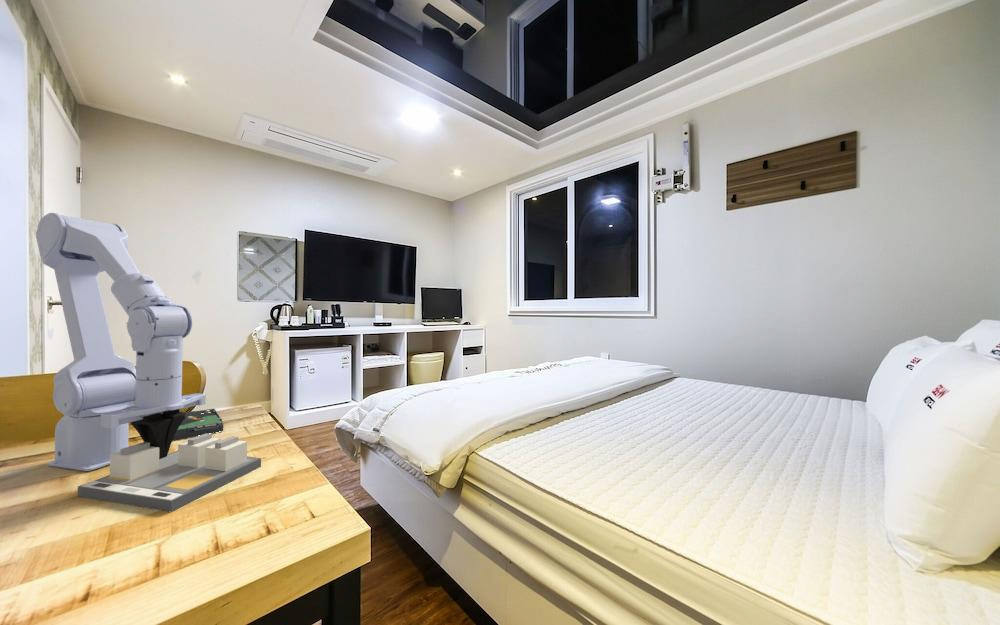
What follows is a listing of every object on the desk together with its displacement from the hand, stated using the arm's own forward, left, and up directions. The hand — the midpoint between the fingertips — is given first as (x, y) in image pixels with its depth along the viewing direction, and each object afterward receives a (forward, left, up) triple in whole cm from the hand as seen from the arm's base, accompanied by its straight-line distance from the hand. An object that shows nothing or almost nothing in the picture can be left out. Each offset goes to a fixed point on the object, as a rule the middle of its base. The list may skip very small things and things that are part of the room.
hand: (158, 457), depth 62 cm
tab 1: (0, -3, -1) cm, 3 cm away
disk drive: (-17, +19, -3) cm, 26 cm away
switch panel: (+6, -1, -3) cm, 6 cm away
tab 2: (+6, +2, -1) cm, 6 cm away
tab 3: (+11, +3, -1) cm, 11 cm away
